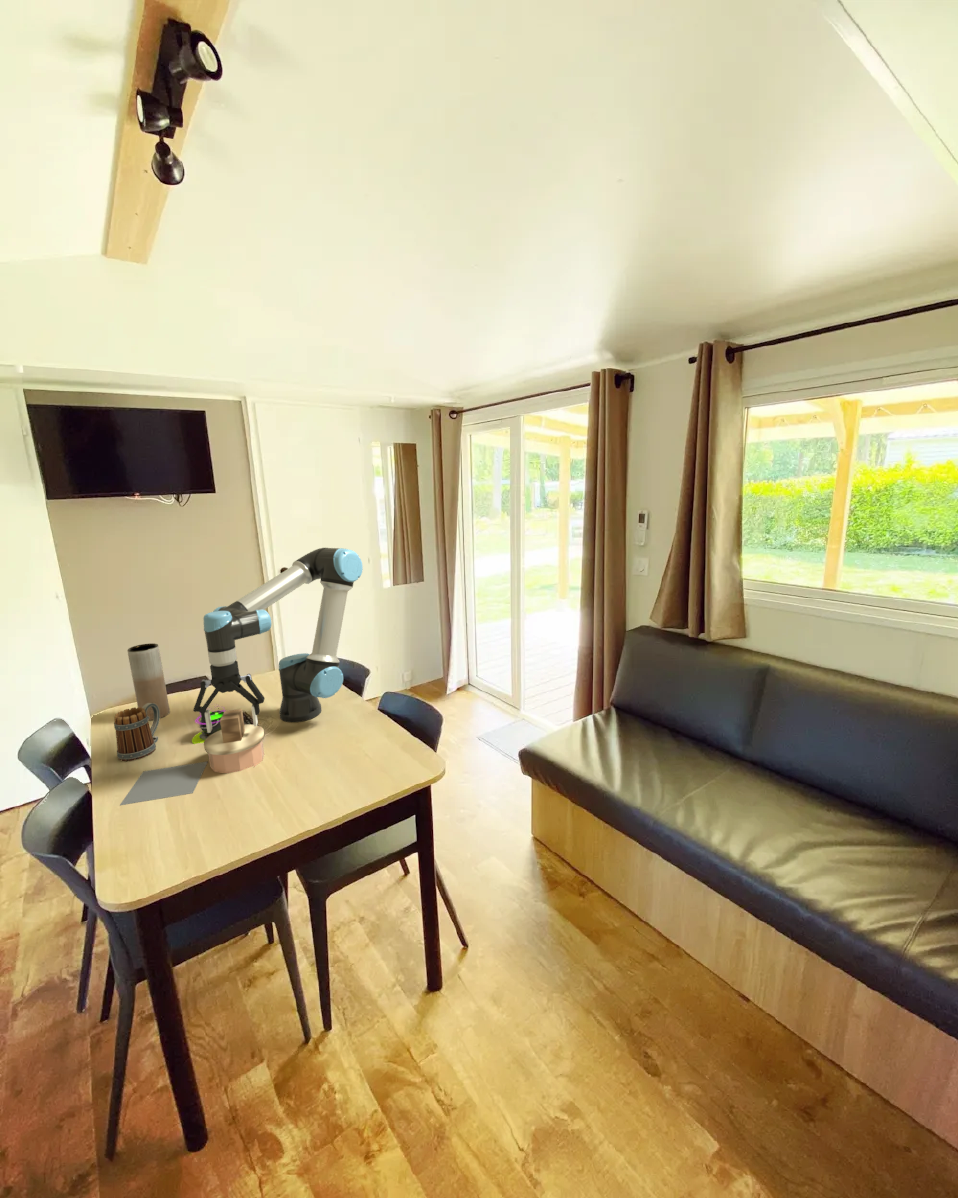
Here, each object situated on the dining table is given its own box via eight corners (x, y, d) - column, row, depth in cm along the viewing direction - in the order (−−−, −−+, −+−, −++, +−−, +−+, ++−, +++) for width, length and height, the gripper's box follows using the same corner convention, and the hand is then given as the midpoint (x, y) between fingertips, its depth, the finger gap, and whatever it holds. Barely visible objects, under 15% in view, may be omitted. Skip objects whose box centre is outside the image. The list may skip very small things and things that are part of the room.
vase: (175, 713, 197) (163, 645, 191) (147, 723, 189) (134, 652, 183) (162, 708, 202) (150, 641, 197) (135, 717, 194) (122, 648, 189)
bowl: (266, 746, 168) (264, 727, 167) (260, 769, 154) (257, 748, 153) (217, 753, 164) (214, 734, 163) (206, 778, 150) (202, 756, 149)
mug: (137, 764, 160) (129, 720, 156) (109, 762, 162) (101, 718, 159) (175, 740, 174) (168, 700, 171) (149, 738, 177) (142, 698, 173)
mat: (208, 763, 159) (208, 761, 159) (193, 795, 142) (192, 793, 142) (143, 773, 154) (143, 771, 154) (119, 807, 137) (119, 805, 137)
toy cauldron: (185, 737, 177) (180, 708, 175) (229, 722, 188) (225, 694, 186) (201, 750, 167) (196, 720, 165) (246, 734, 178) (242, 705, 176)
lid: (267, 725, 168) (264, 700, 166) (260, 749, 152) (256, 721, 150) (211, 733, 164) (207, 707, 162) (198, 759, 148) (193, 730, 146)
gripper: (268, 654, 159) (276, 716, 164) (182, 663, 153) (192, 728, 157) (265, 661, 152) (273, 726, 156) (174, 671, 146) (185, 739, 150)
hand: (233, 727), depth 157 cm, fingers open, 12 cm apart
